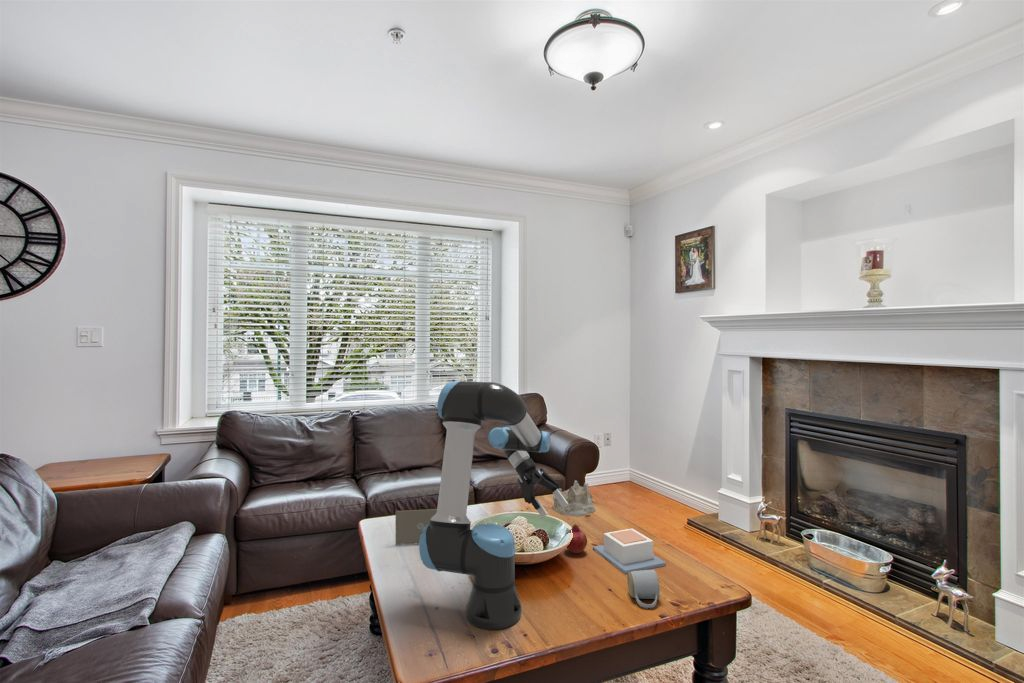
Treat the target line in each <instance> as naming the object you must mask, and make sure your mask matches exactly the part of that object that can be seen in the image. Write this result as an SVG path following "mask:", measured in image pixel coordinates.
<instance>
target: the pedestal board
mask: <svg viewBox="0 0 1024 683" xmlns="http://www.w3.org/2000/svg"><path fill="white" fill-rule="evenodd" d="M593 549H594V550H596V551H597V552H598V553H599V554H600V555H599V554H598V553H597V552H596V551H595V552H596V553H597V554H598V555H599V556H601V555H602V556H603V557H604V558H603V557H602V556H601V557H602V558H603V559H605V558H606V559H607V560H608V561H607V560H606V559H605V560H606V561H607V562H609V561H610V562H611V563H612V564H611V563H610V562H609V563H610V564H611V565H613V566H614V565H615V566H616V567H615V566H614V567H615V568H616V569H618V570H619V571H621V572H622V573H623V574H624V575H628V573H629V572H632V571H641V570H653V569H656V568H661V567H665V566H666V565H667V563H666V561H664V560H662V559H661V558H659V557H658V556H656V555H655V554H654V540H652V539H650V538H649V537H647V536H645V535H644V534H642V533H641V532H639V531H637V530H636V529H634V528H627V529H620V530H615V531H610V532H604V533H603V544H600V545H596V546H594V545H593V546H592V550H593ZM594 550H593V551H594Z"/></svg>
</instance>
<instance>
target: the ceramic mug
mask: <svg viewBox="0 0 1024 683" xmlns="http://www.w3.org/2000/svg"><path fill="white" fill-rule="evenodd" d="M626 575H627V576H626V577H627V578H626V579H627V580H626V581H627V589H628V593H629V596H630V598H632V599H635V600H636V602H637V605H638V606H640V607H642V608H643V609H648V608H650V609H653V608H654V607H656V605H657V602H658V599H659V598H660V595H661V594H660V590H661V589H660V581H659V577H658V573H657V572H656V569H647V570H641V571H632V572H629V573H628V574H626ZM640 599H641V600H642V599H644V600H645V599H647V600H649V599H650V600H654V601H653V602H652V603H651V604H650V603H649V604H647V603H645V602H642V601H641V600H640Z"/></svg>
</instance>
